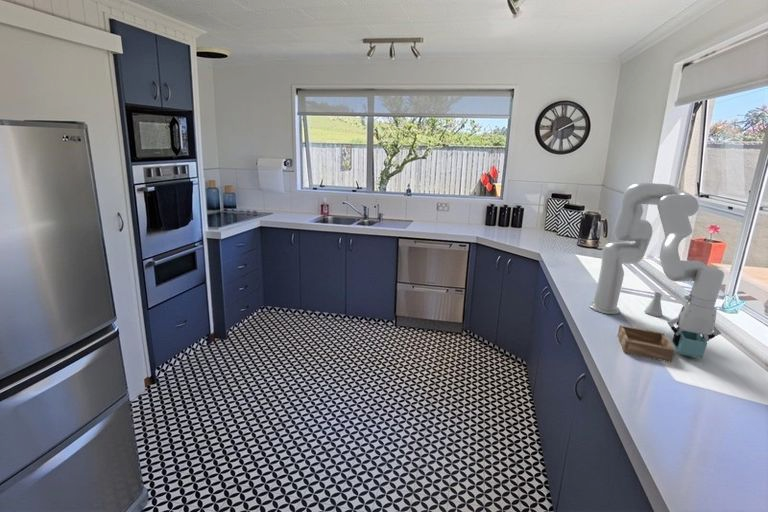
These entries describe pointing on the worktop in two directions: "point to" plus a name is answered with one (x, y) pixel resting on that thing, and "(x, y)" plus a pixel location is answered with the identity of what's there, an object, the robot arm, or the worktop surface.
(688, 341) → the small crate
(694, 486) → the worktop surface
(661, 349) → the big crate
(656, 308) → the flask
